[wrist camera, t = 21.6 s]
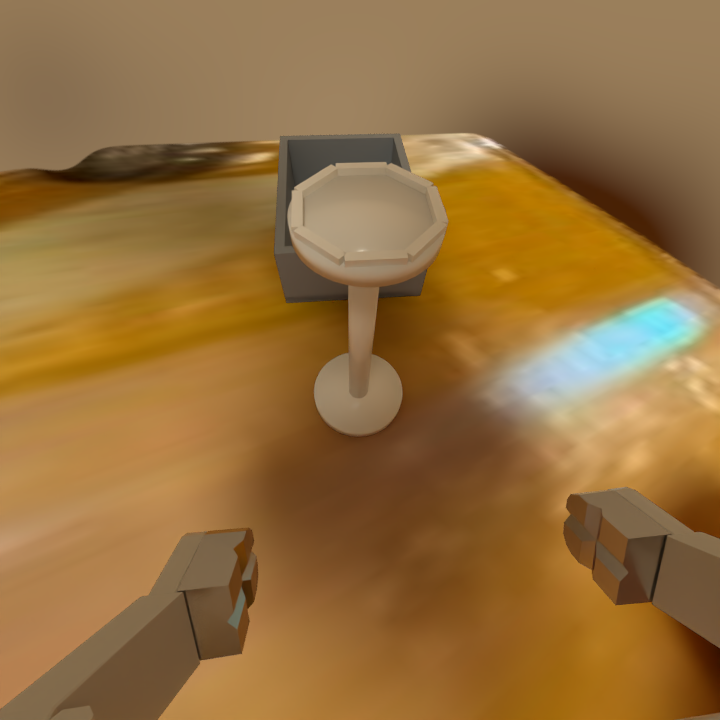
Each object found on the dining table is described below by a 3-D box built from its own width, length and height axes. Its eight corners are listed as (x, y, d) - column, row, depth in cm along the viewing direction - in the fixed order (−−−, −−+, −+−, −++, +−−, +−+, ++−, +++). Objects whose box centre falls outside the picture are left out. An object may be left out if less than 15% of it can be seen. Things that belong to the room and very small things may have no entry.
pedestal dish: (316, 440, 25) (267, 280, 10) (314, 360, 29) (275, 154, 14) (407, 432, 26) (486, 269, 11) (394, 355, 29) (440, 151, 14)
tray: (286, 302, 32) (274, 253, 26) (289, 189, 41) (280, 136, 35) (420, 295, 33) (433, 246, 27) (393, 185, 42) (399, 133, 36)
